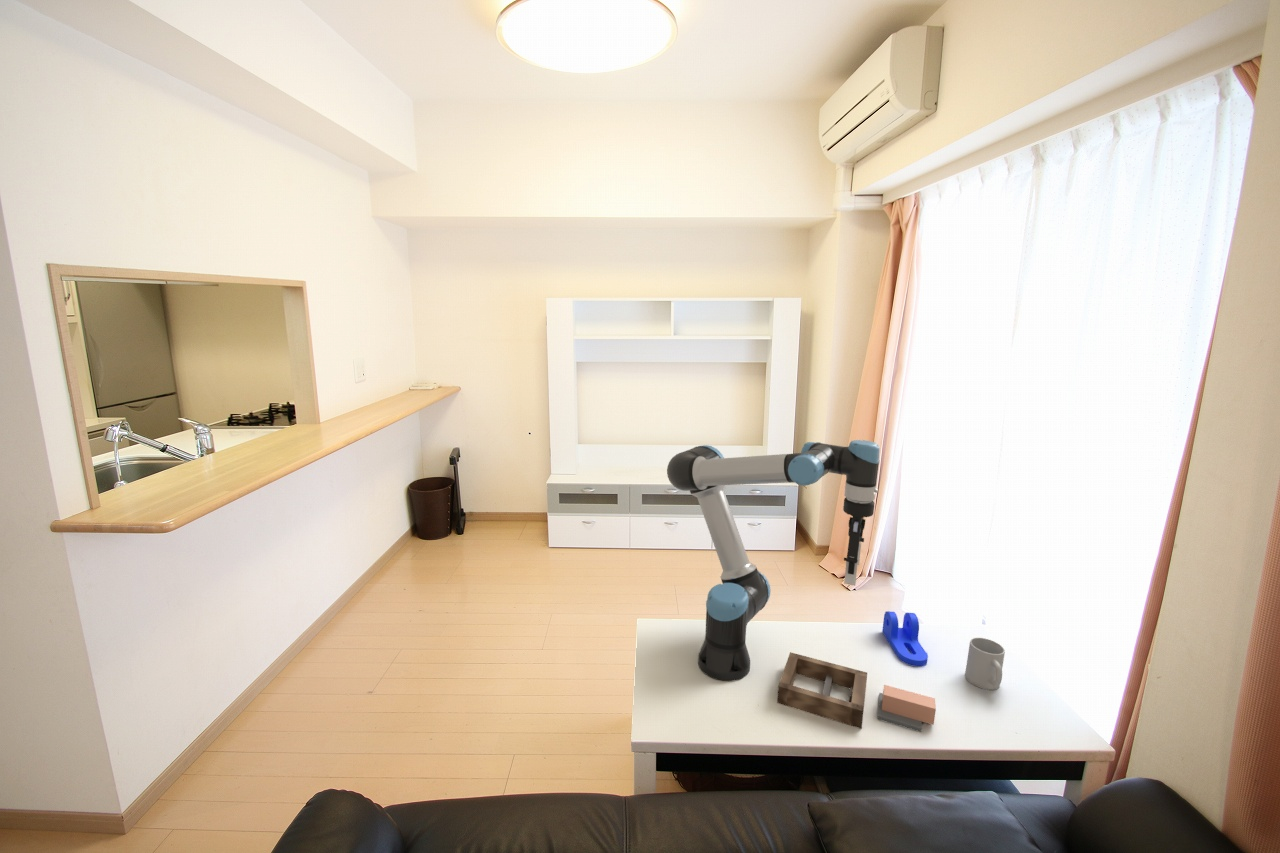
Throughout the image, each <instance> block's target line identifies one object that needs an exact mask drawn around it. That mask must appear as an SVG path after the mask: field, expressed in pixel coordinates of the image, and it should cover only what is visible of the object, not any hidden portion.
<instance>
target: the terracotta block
mask: <svg viewBox="0 0 1280 853" xmlns="http://www.w3.org/2000/svg"><path fill="white" fill-rule="evenodd" d="M882 691H883V692H882V693H883V698H882V710H884V711H887V712H891V713H894V714H898V715H901V716H905V717H908V718H912V719H915V720H918V721H921V723H922V722H923V723H927V724H929V725H933V726H934V725H935V718H936V710H937V707H936V698H935V697H931V696H928V695H924V694H921V693H920V694H919V693H915V692H913V691H909V690H905V689H902V688H897V687H894V686H890V685H886V684H884V685H883V690H882Z"/></svg>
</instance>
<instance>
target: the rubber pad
mask: <svg viewBox="0 0 1280 853" xmlns="http://www.w3.org/2000/svg"><path fill="white" fill-rule="evenodd" d="M882 698H883V692H879V694H878V707H877V709H878V710H877V720H880V721H882V722H886V723H889V724H893V725H896V726H900V727H903V728H906V729H910V730H912V731H913V730H914V731H916V732H920V733H921V732H922V729H923V728H922V725H923V724H922V721H918V720H915V719H912V718H908V717H905V716H901V715H898V714H894V713H891V712H887V711H884V710H882Z"/></svg>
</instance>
